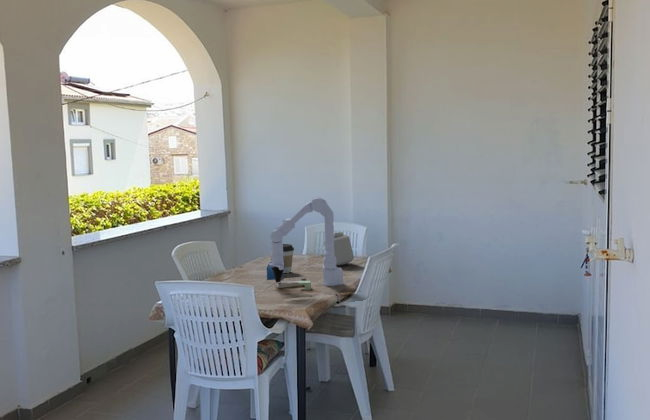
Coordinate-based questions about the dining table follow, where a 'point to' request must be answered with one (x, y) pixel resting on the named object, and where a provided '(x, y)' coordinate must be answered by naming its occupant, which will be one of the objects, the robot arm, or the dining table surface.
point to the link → (288, 284)
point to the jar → (342, 249)
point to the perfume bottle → (270, 272)
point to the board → (295, 289)
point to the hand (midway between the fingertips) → (278, 281)
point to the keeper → (306, 283)
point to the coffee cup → (287, 257)
